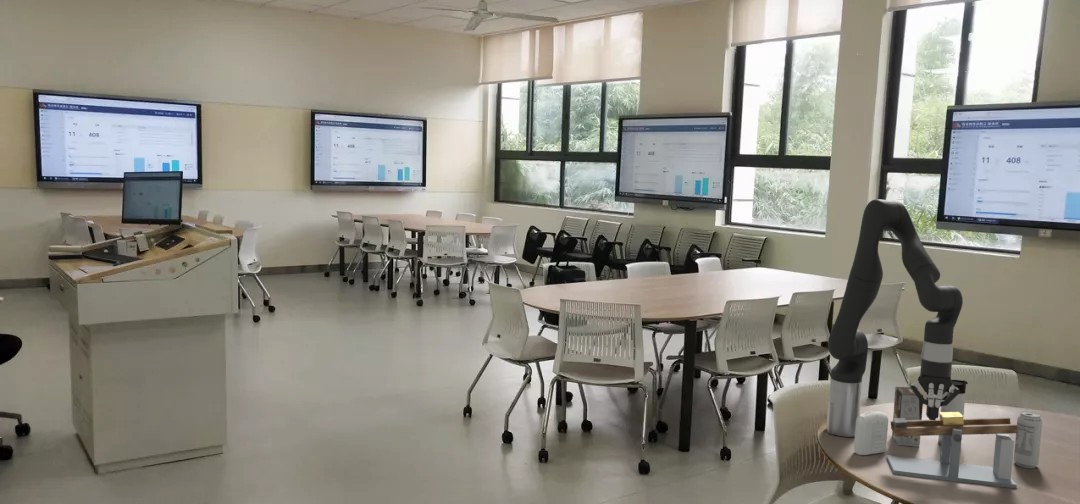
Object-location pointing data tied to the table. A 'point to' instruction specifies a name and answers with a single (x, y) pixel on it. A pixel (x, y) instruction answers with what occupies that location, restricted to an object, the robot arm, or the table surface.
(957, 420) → the gold metal cube
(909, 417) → the coffee box
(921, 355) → the robot arm
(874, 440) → the photo printer
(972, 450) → the table surface
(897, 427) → the beam
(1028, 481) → the table surface
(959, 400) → the travel mug
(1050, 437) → the table surface
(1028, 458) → the energy drink can
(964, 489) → the table surface
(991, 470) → the stand
